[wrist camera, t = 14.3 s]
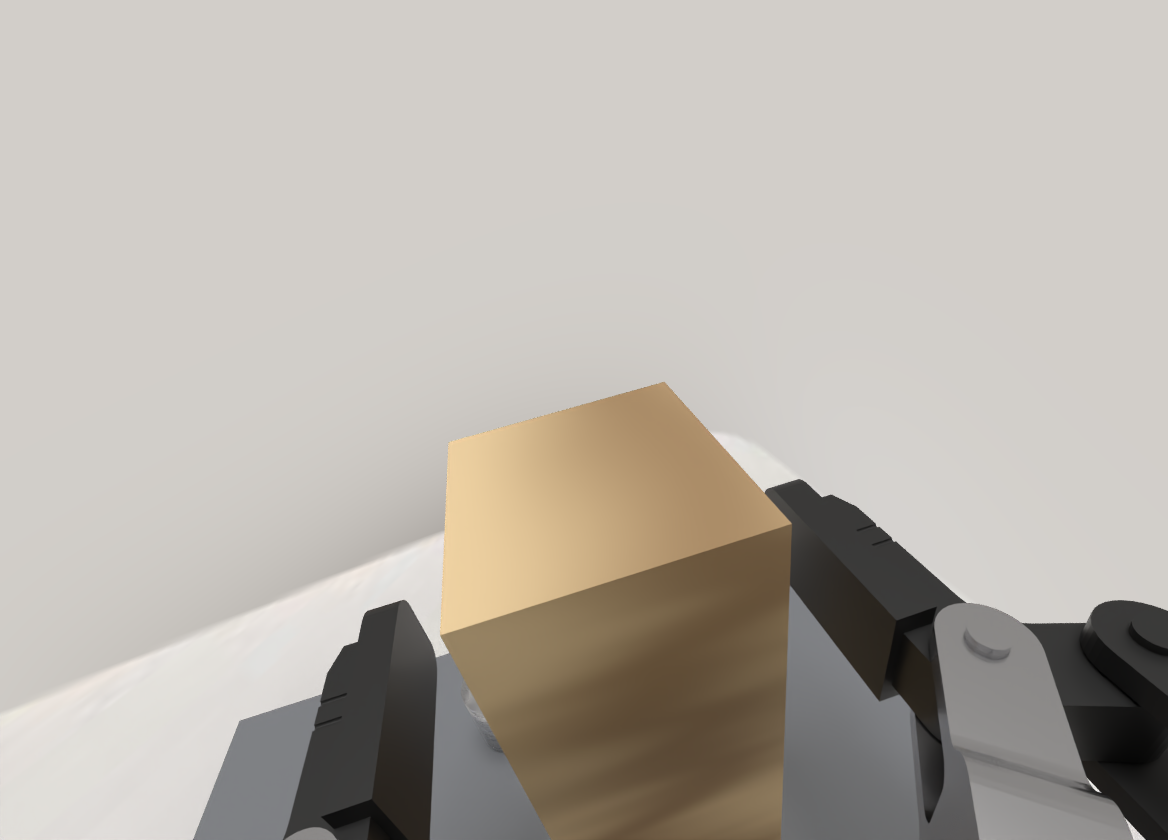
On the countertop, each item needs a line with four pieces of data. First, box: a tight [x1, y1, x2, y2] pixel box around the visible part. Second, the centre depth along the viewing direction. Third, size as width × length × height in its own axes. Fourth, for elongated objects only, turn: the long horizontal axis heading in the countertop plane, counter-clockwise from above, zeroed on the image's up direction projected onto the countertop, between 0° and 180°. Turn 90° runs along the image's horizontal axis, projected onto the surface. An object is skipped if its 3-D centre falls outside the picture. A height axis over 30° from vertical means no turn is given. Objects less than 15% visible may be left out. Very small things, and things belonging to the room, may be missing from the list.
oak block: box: [440, 382, 792, 840], centre depth 10 cm, size 4×4×12 cm
